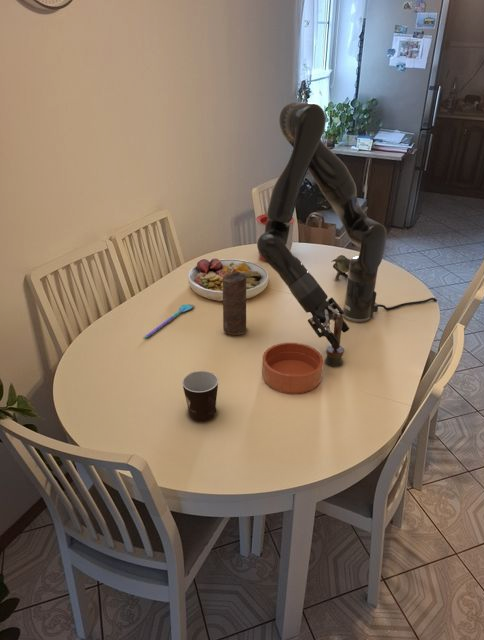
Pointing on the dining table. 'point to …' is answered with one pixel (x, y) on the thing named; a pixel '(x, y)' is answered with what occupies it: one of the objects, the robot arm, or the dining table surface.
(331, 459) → the dining table surface
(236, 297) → the candle
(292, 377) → the basin
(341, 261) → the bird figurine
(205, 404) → the coffee mug
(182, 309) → the spoon
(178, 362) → the dining table surface
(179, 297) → the dining table surface
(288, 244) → the citrus juicer
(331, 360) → the tamper
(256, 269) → the bowl
